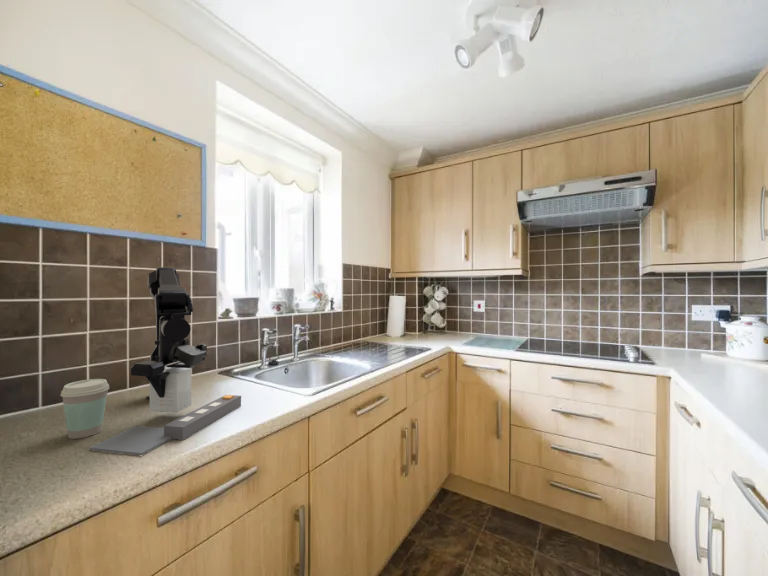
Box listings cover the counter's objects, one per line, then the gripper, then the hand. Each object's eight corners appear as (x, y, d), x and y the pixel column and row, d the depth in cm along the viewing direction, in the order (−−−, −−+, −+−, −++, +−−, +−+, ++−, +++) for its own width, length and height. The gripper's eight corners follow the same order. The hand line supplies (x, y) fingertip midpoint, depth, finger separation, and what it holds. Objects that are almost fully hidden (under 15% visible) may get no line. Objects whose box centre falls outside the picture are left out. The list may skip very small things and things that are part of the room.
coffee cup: (104, 422, 82) (105, 376, 82) (112, 432, 76) (113, 382, 76) (57, 434, 75) (58, 383, 75) (62, 445, 70) (62, 391, 70)
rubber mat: (89, 450, 68) (89, 447, 68) (136, 428, 79) (137, 425, 79) (141, 456, 66) (141, 453, 66) (183, 432, 77) (183, 430, 77)
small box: (191, 405, 88) (192, 367, 88) (176, 413, 83) (177, 373, 83) (165, 404, 89) (165, 366, 89) (148, 411, 83) (149, 371, 83)
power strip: (163, 438, 73) (164, 423, 73) (225, 404, 95) (225, 393, 95) (182, 440, 73) (183, 425, 73) (240, 405, 94) (241, 394, 94)
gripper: (169, 343, 75) (168, 408, 75) (221, 332, 94) (220, 385, 94) (129, 341, 77) (128, 405, 77) (188, 331, 95) (187, 382, 95)
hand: (171, 393), depth 86 cm, fingers closed on small box, 6 cm apart
